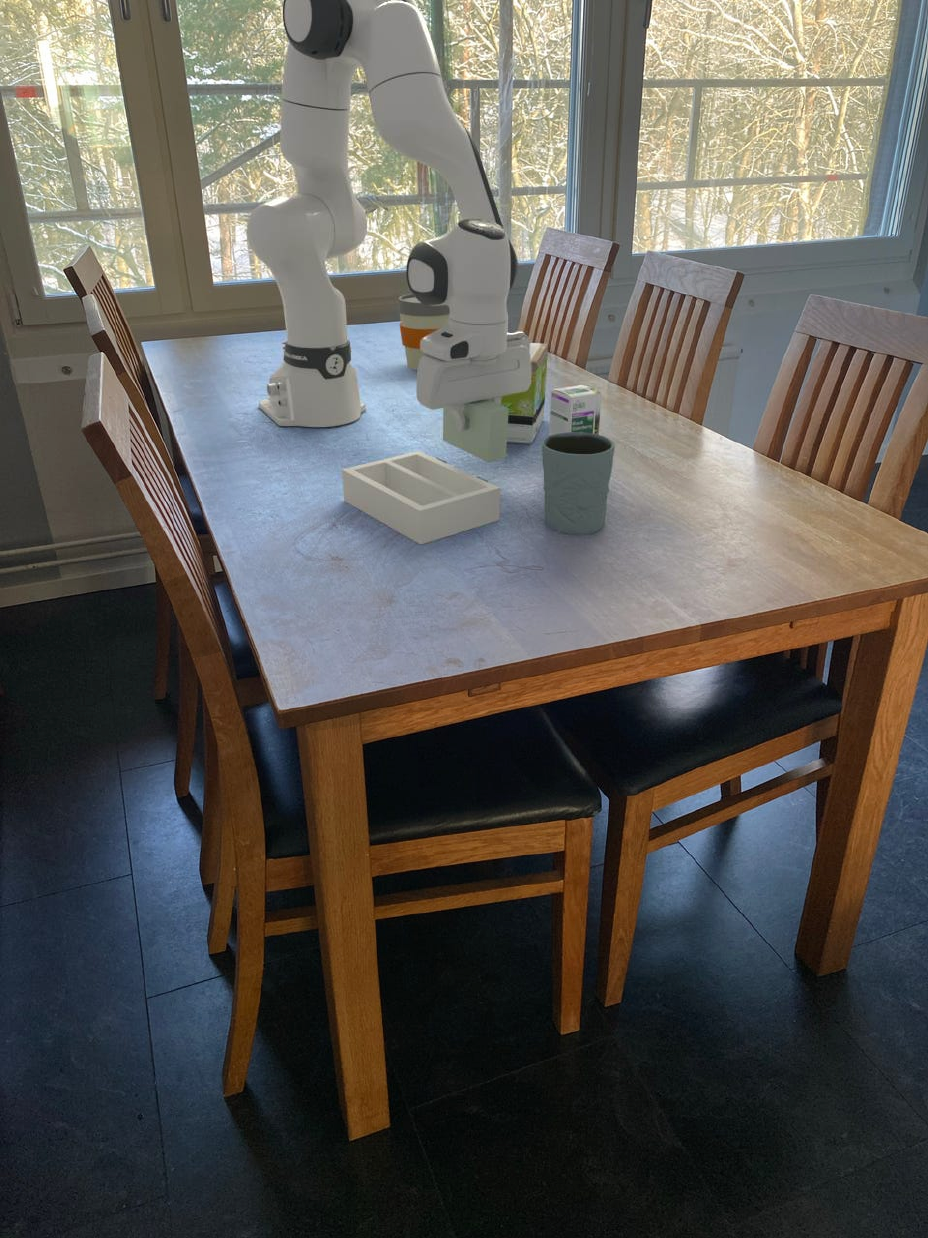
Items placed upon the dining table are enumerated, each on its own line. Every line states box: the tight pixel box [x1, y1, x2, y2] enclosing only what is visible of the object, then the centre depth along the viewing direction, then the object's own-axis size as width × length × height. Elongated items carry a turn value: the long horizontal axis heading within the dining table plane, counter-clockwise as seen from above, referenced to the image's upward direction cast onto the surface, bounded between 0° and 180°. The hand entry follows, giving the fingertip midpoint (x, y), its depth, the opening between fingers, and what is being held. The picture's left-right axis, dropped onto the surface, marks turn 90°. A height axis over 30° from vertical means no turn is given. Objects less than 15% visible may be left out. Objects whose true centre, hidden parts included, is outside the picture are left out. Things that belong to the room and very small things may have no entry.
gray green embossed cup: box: [541, 432, 616, 535], centre depth 131 cm, size 10×10×12 cm
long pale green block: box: [442, 399, 509, 463], centre depth 146 cm, size 12×4×8 cm, turn 37°
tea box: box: [500, 342, 549, 444], centre depth 167 cm, size 15×10×15 cm, turn 168°
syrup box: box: [548, 384, 602, 436], centre depth 145 cm, size 6×6×14 cm
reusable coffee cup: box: [397, 293, 450, 371], centre depth 208 cm, size 13×13×15 cm
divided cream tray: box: [341, 450, 501, 545], centre depth 136 cm, size 20×15×5 cm
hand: (474, 426), depth 146 cm, fingers closed on long pale green block, 3 cm apart
